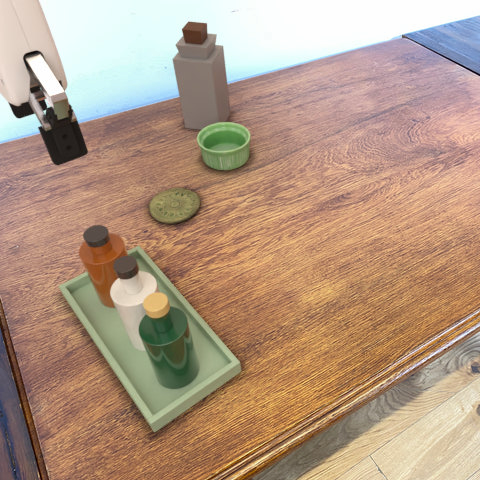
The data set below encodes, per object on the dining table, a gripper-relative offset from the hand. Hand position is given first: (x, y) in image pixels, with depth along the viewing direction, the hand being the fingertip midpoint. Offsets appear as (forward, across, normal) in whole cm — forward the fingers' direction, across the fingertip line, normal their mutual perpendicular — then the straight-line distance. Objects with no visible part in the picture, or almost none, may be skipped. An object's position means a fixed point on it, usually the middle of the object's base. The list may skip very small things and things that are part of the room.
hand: (50, 134), depth 50 cm
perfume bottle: (+25, -27, +32) cm, 49 cm away
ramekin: (+25, -15, +28) cm, 41 cm away
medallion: (+25, -10, +15) cm, 31 cm away
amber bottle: (+24, +1, 0) cm, 24 cm away
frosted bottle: (+24, +10, 0) cm, 26 cm away
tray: (+25, +9, 0) cm, 26 cm away
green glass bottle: (+24, +16, 0) cm, 29 cm away
